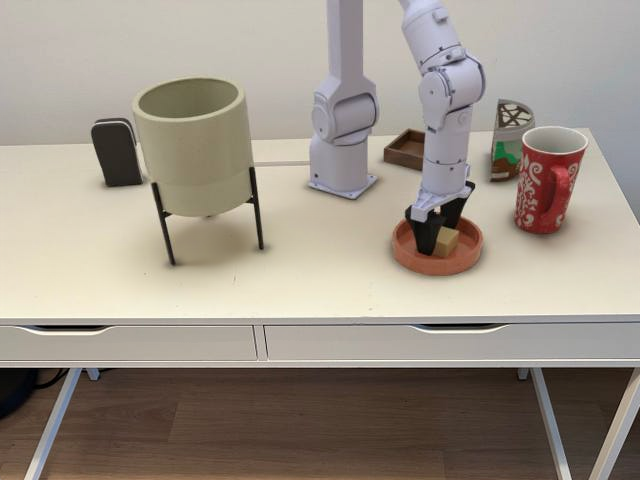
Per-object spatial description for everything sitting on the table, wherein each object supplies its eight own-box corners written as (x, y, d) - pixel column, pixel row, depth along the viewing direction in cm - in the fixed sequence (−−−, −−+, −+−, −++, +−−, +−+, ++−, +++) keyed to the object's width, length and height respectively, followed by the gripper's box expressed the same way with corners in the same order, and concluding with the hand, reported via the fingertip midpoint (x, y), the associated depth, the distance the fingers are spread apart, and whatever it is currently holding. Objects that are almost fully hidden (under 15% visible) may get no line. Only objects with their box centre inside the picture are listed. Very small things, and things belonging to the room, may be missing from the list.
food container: (528, 188, 110) (539, 130, 103) (490, 186, 111) (498, 129, 104) (525, 153, 119) (535, 98, 112) (490, 152, 120) (498, 97, 113)
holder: (383, 161, 120) (383, 148, 118) (407, 140, 125) (408, 128, 123) (429, 173, 115) (430, 159, 114) (452, 151, 121) (453, 138, 119)
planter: (253, 207, 110) (236, 66, 95) (270, 260, 99) (253, 110, 83) (163, 222, 109) (129, 81, 93) (169, 278, 97) (132, 128, 81)
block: (415, 249, 98) (416, 234, 97) (427, 236, 101) (428, 222, 99) (445, 258, 96) (447, 244, 95) (457, 245, 99) (459, 231, 97)
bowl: (376, 258, 98) (376, 244, 96) (417, 217, 105) (418, 203, 104) (457, 285, 92) (459, 271, 90) (494, 240, 100) (496, 226, 98)
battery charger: (146, 174, 121) (131, 113, 113) (143, 184, 118) (128, 123, 110) (108, 177, 121) (91, 116, 113) (104, 187, 118) (86, 126, 111)
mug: (503, 206, 106) (517, 125, 97) (561, 205, 105) (581, 124, 96) (514, 251, 97) (531, 167, 88) (578, 251, 96) (601, 166, 87)
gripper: (448, 185, 82) (439, 273, 92) (495, 139, 91) (482, 224, 100) (398, 172, 85) (395, 259, 95) (448, 128, 94) (440, 212, 103)
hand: (436, 240), depth 98 cm, fingers open, 7 cm apart
